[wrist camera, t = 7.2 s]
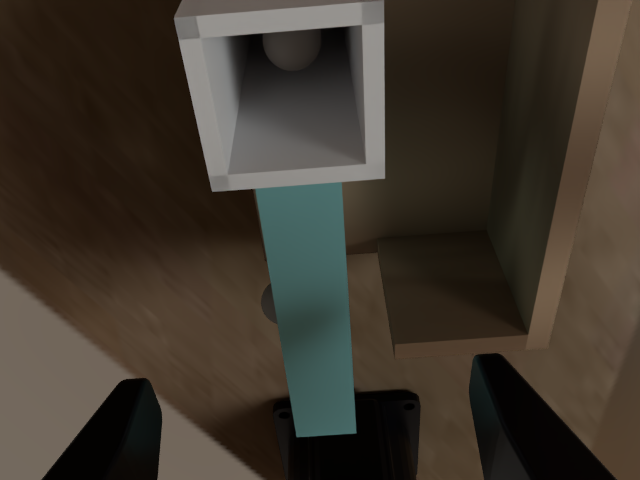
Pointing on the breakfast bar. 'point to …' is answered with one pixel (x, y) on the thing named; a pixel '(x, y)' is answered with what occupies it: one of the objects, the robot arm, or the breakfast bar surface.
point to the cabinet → (478, 163)
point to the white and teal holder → (294, 167)
